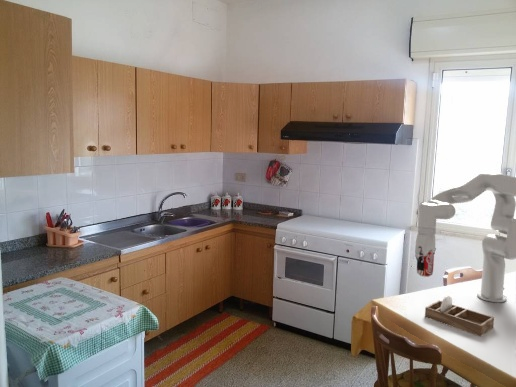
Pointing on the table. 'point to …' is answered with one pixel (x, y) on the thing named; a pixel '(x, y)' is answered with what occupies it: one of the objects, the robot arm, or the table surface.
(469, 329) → the rack
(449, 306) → the plate
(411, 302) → the table surface
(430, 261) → the soda can
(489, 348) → the table surface
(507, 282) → the table surface
